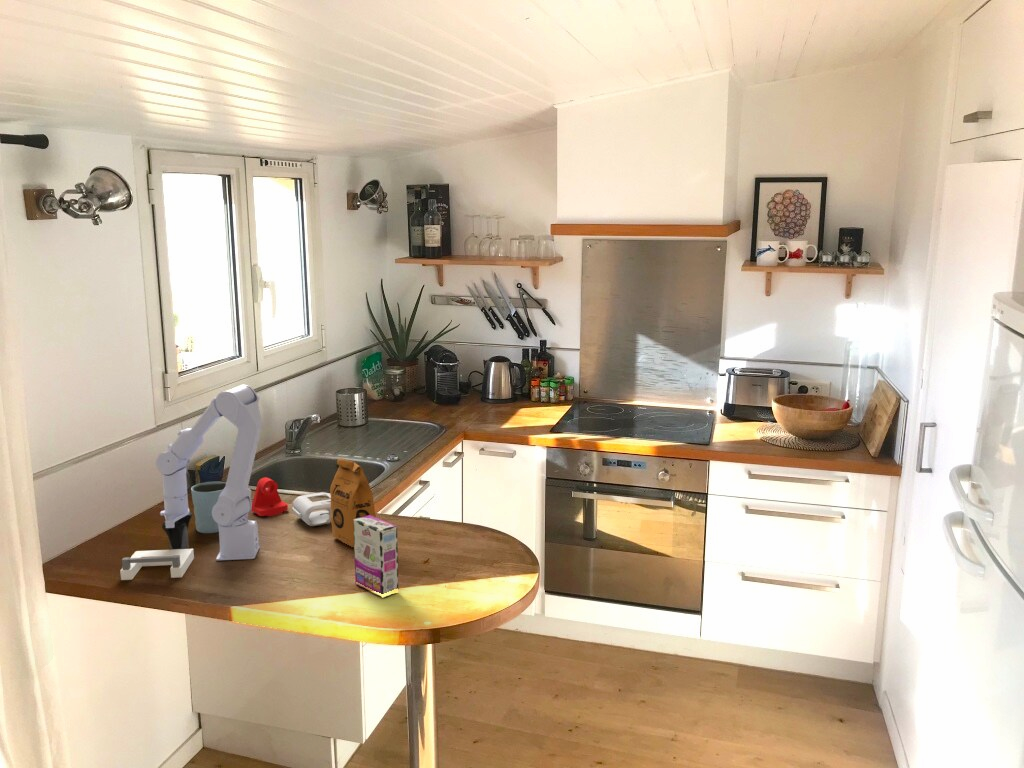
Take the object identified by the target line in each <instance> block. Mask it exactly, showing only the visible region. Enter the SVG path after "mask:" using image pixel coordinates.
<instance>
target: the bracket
mask: <svg viewBox="0 0 1024 768" xmlns="http://www.w3.org/2000/svg"><path fill="white" fill-rule="evenodd" d="M278 489H279V485H278V483H277V481H275V480H273V479H271V478H269V477H262V478H260V479H259V480H258V482H257V484H256V488H255V491H254V495H253V500H252V507H251V512H253V513H254V514H257V515H258V516H259V517H264V516H267V517H268V518H270V517H274V516H278V515H282V514H283V512H286V511H288V509H289V508H288V505H289V504H288V503H287V502H284V501H283V500H282V499H281V497H280V494H279V492H278Z"/></svg>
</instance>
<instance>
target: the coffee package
mask: <svg viewBox="0 0 1024 768" xmlns="http://www.w3.org/2000/svg"><path fill="white" fill-rule="evenodd" d="M336 464H337V465H338V468H337V471H336V472H335V475H334V478H333V480H332V482H331V485H330V487H329V488H330V489H329V491H330V495H331V502H330V503H331V523H330V524H331V531H332V534H331V535H332V537H334V538H335V539H336V540H338V541H341V542H342V543H343V544H344V543H345V544H344V545H346V544H347V545H346V546H348V545H349V547H350V546H351V547H350V548H352V547H354V519H357V518H360V517H364V516H368V515H371V516H373V517H376V518H377V514H376V509H375V502H374V497H373V491H372V489H371V485H370V484H369V481H368V480H367V476H366V475H365V473H364V470H363V468H362V466H360V465H359V464H357V463H356V462H355V461H351V460H348V459H344V458H339V459H337V461H336Z"/></svg>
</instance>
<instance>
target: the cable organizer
mask: <svg viewBox="0 0 1024 768" xmlns="http://www.w3.org/2000/svg"><path fill="white" fill-rule="evenodd" d="M323 496H326V497H327V498H328V499H323V500H317V501H312V500H311V499H310V498H316V497H317V498H318V497H323ZM292 504H293V507H291V511H292V512H293V513H294V514H295V515H296V516H297V517H298V518H300V519H301V520H302V521H303V522H304V523H305V524H306V525H308V526H310V527H315V526H316V527H317V526H322V525H326V524H327V525H328V524H331V495H330V493H329V492H325V491H322V492H316V493H315V492H313V493H309V494H303V495H299V496H297V497H296V498H295V499H294V500H293V501H292Z"/></svg>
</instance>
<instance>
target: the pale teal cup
mask: <svg viewBox="0 0 1024 768" xmlns="http://www.w3.org/2000/svg"><path fill="white" fill-rule="evenodd" d="M225 486H226V482H223V481H206V482H200V483H197V484H195V485H193V486H191V488H190V492H191V493H190V494H191V499H192V504H193V513H194V517H195V528H196V531H197V532H198V533H201V534H215V533H219V527H218V523H216V522H215V520H214V519H213V516H212V508H213V506H214V505H215V504H216V503H217V501H218V498H219V495H220V494H221V492H222V491H223V489H224V488H225Z"/></svg>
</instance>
